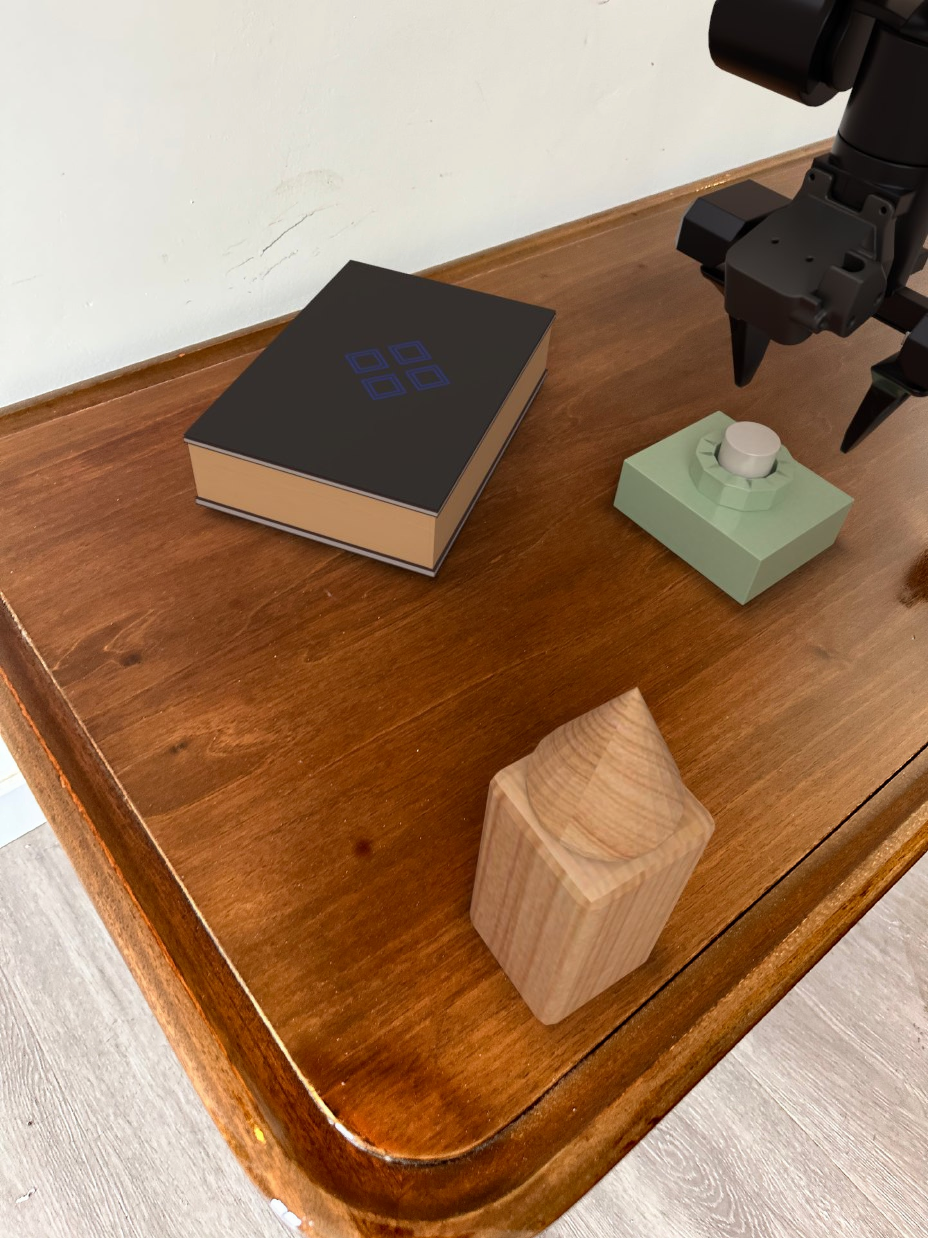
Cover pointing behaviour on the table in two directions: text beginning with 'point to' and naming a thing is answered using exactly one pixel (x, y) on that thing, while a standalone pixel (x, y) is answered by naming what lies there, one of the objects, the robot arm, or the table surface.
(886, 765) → the table surface
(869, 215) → the robot arm
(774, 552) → the button base
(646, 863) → the decorative item
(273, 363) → the book
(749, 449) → the beige button cap
